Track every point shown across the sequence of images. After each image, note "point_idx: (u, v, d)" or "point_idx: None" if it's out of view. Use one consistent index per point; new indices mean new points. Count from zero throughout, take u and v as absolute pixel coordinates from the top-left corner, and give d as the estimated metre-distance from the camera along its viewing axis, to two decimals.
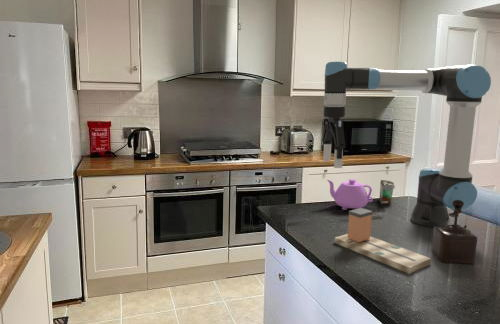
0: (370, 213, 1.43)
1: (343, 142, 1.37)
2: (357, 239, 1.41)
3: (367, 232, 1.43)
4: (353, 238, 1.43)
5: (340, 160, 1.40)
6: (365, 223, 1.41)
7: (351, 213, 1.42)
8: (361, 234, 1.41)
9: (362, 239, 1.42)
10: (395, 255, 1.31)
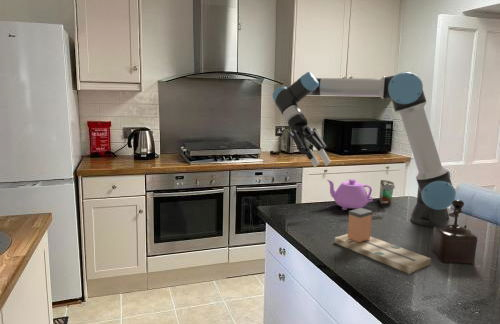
0: (370, 213, 1.43)
1: (300, 146, 1.55)
2: (357, 239, 1.41)
3: (367, 232, 1.43)
4: (353, 238, 1.43)
5: (313, 158, 1.54)
6: (365, 223, 1.41)
7: (351, 213, 1.42)
8: (361, 234, 1.41)
9: (362, 239, 1.42)
10: (395, 255, 1.31)
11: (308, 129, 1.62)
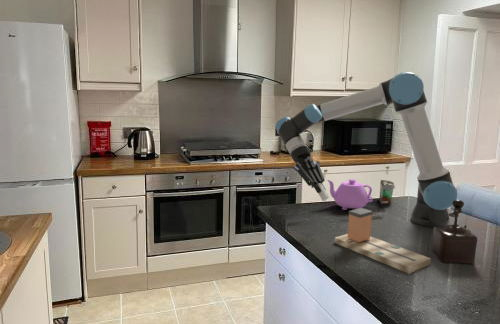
0: (370, 213, 1.43)
1: (308, 180, 1.56)
2: (357, 239, 1.41)
3: (367, 232, 1.43)
4: (353, 238, 1.43)
5: (322, 192, 1.56)
6: (365, 223, 1.41)
7: (351, 213, 1.42)
8: (361, 234, 1.41)
9: (362, 239, 1.42)
10: (395, 255, 1.31)
11: (310, 161, 1.62)
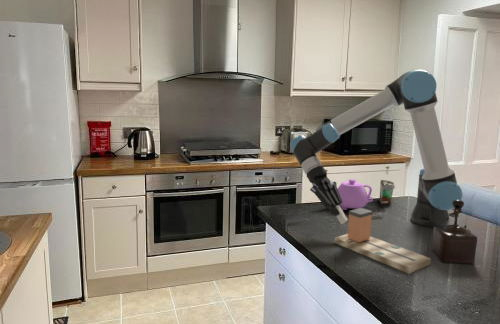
0: (370, 213, 1.43)
1: (326, 202, 1.51)
2: (357, 239, 1.41)
3: (367, 232, 1.43)
4: (353, 238, 1.43)
5: (340, 215, 1.50)
6: (365, 223, 1.41)
7: (351, 213, 1.42)
8: (361, 234, 1.41)
9: (362, 239, 1.42)
10: (395, 255, 1.31)
11: (327, 182, 1.56)
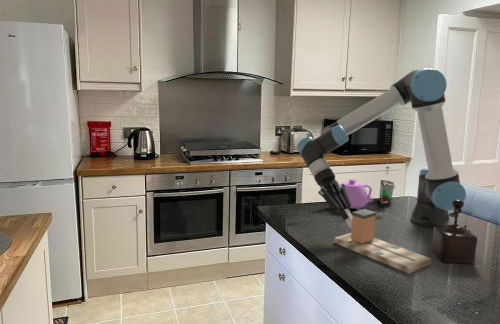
0: (374, 214, 1.41)
1: (334, 206, 1.47)
2: (360, 240, 1.40)
3: (371, 233, 1.42)
4: (356, 239, 1.42)
5: (349, 219, 1.46)
6: (368, 224, 1.40)
7: (354, 214, 1.41)
8: (364, 236, 1.40)
9: (365, 240, 1.41)
10: (395, 255, 1.31)
11: (336, 185, 1.52)
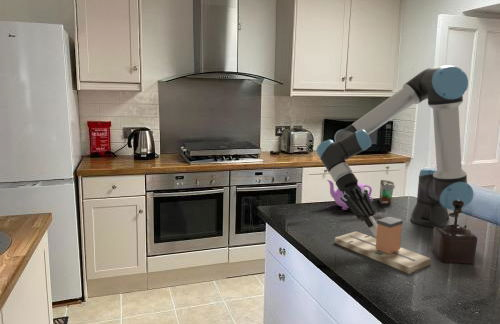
0: (400, 222, 1.33)
1: (358, 213, 1.39)
2: (386, 250, 1.32)
3: (397, 243, 1.34)
4: (382, 249, 1.33)
5: (374, 227, 1.38)
6: (394, 233, 1.32)
7: (380, 222, 1.33)
8: (391, 245, 1.32)
9: (392, 250, 1.33)
10: (395, 255, 1.31)
11: (359, 191, 1.44)
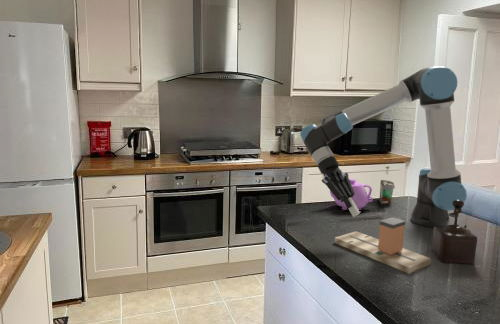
0: (403, 223, 1.32)
1: (338, 194, 1.46)
2: (389, 251, 1.31)
3: (399, 244, 1.33)
4: (384, 250, 1.33)
5: (352, 208, 1.45)
6: (397, 234, 1.31)
7: (382, 223, 1.32)
8: (393, 246, 1.31)
9: (394, 251, 1.32)
10: (395, 255, 1.31)
11: (339, 173, 1.51)
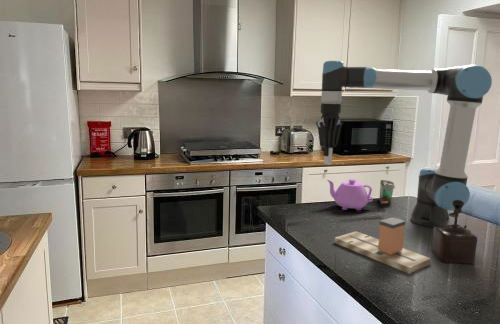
0: (403, 223, 1.32)
1: (323, 142, 1.52)
2: (389, 251, 1.31)
3: (399, 244, 1.33)
4: (384, 250, 1.33)
5: (328, 157, 1.55)
6: (397, 234, 1.31)
7: (382, 223, 1.32)
8: (393, 246, 1.31)
9: (394, 251, 1.32)
10: (395, 255, 1.31)
11: (335, 122, 1.53)
